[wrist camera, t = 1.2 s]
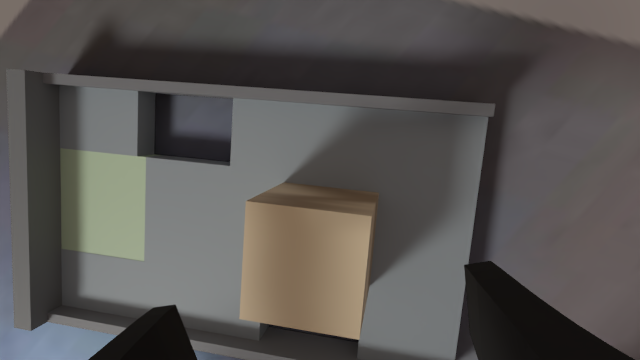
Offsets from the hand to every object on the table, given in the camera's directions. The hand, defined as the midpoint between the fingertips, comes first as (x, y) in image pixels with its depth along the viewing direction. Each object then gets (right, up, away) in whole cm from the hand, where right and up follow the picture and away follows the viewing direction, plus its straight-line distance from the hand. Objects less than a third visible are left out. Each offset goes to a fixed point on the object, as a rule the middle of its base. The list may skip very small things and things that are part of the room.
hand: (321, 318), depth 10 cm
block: (0, +1, +9) cm, 9 cm away
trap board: (-4, +2, +12) cm, 12 cm away
